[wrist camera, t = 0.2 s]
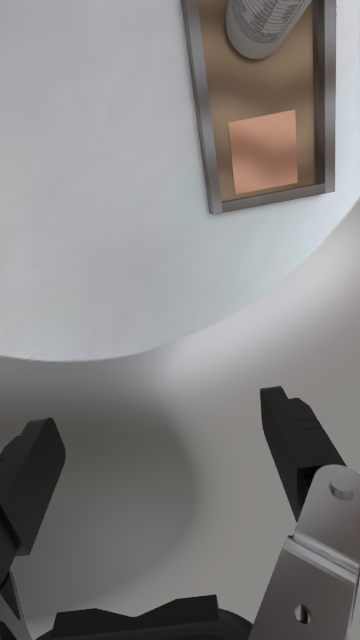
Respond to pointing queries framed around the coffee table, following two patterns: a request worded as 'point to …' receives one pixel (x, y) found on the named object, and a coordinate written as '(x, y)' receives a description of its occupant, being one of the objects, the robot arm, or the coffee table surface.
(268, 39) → the energy drink can
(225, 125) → the tray
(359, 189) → the coffee table surface
